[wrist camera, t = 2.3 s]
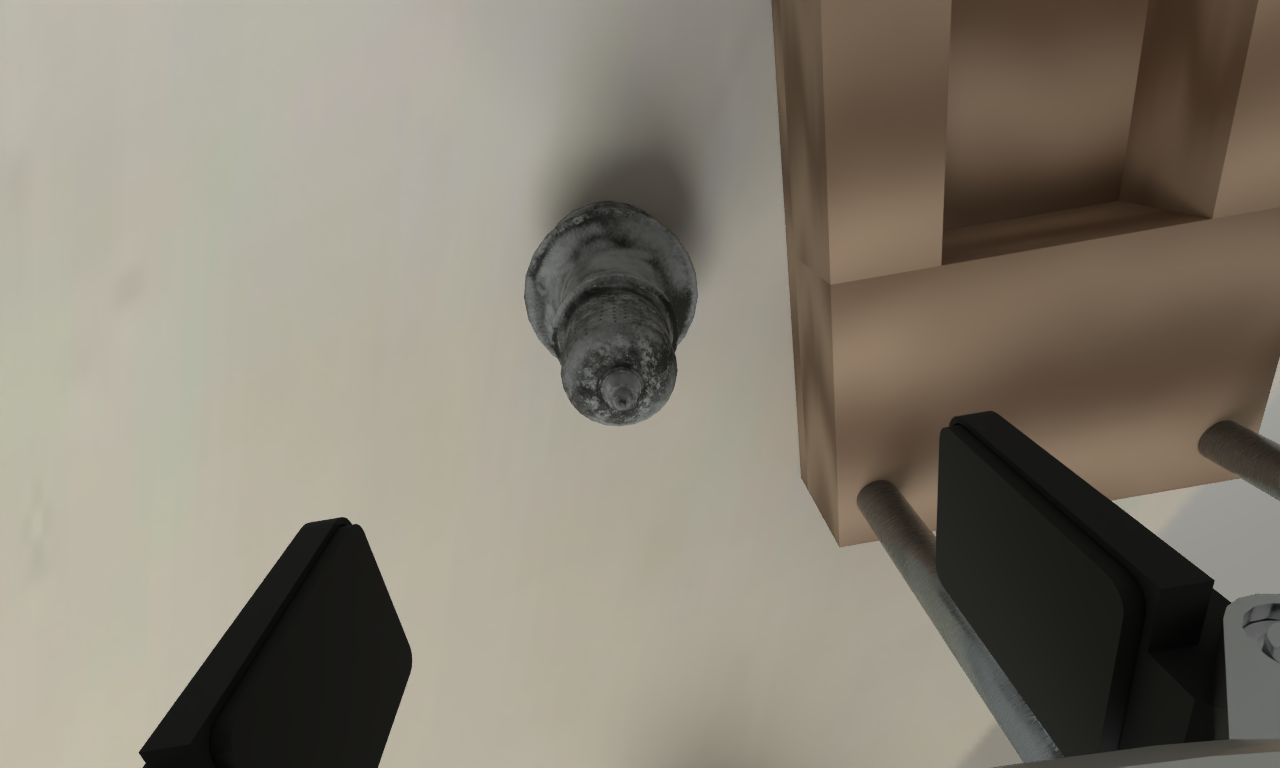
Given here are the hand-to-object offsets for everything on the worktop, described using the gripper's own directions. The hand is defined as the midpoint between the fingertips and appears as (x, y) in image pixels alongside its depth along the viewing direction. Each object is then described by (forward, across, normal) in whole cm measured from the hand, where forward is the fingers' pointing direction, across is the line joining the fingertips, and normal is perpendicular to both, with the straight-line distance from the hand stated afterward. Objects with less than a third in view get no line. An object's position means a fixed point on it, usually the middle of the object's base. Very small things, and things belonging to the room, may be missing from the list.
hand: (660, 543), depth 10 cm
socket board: (+16, -14, -2) cm, 22 cm away
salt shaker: (+16, +1, -1) cm, 17 cm away
